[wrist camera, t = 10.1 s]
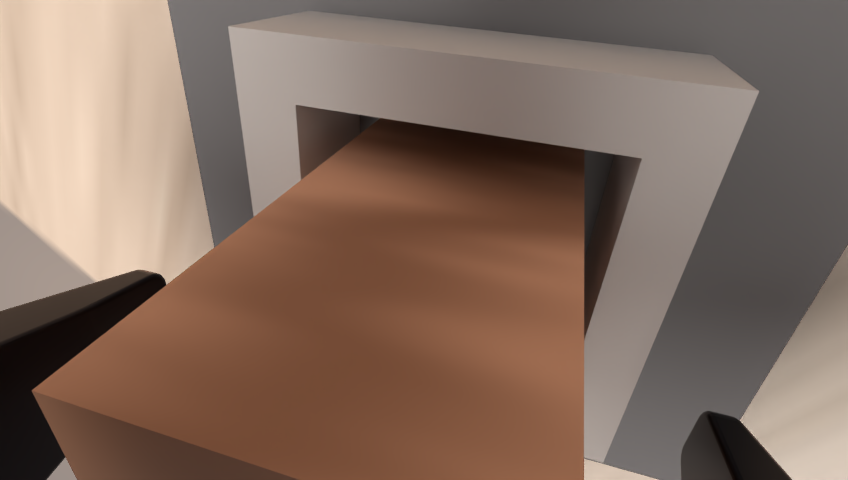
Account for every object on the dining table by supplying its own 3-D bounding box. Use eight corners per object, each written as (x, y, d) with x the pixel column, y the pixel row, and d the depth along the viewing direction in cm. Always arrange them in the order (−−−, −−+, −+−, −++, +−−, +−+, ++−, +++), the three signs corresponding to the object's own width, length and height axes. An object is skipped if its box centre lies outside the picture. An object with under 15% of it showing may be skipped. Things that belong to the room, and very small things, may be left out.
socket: (1065, -192, 7) (1468, -318, 4) (690, 461, 16) (719, 598, 12) (162, -203, 11) (-32, -277, 7) (251, 342, 19) (179, 424, 16)
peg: (584, 139, 11) (583, 574, 3) (544, 301, 13) (487, 770, 5) (390, 109, 12) (31, 389, 4) (385, 265, 14) (152, 625, 6)
